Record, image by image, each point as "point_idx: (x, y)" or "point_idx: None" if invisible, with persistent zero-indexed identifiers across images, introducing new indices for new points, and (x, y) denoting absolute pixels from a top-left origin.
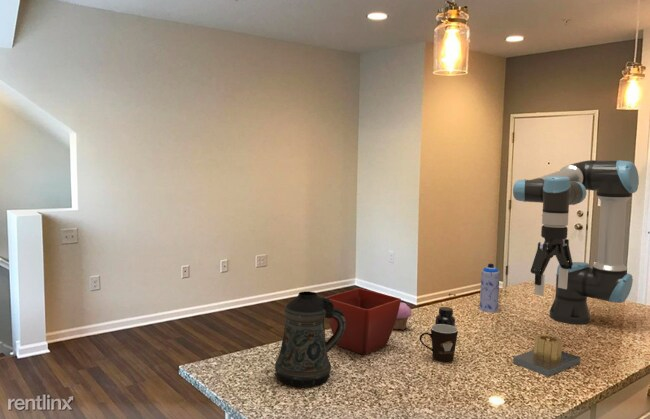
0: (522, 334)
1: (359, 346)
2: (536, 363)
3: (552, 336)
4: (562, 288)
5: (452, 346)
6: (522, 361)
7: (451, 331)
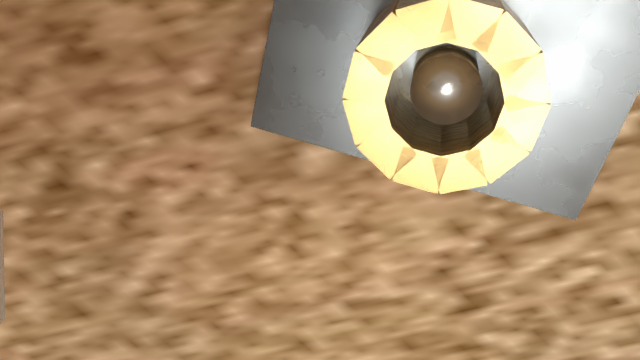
0: (107, 270)
1: None
2: (607, 86)
3: (367, 90)
4: (2, 258)
5: None
6: (601, 163)
7: None
